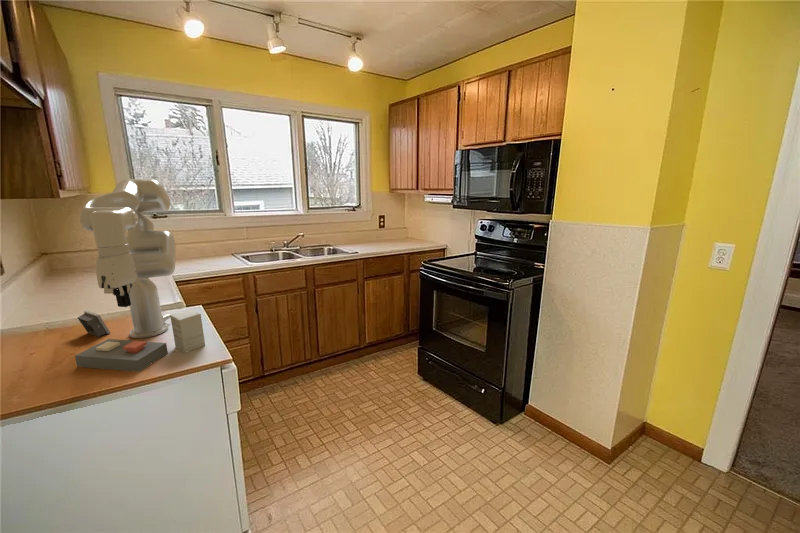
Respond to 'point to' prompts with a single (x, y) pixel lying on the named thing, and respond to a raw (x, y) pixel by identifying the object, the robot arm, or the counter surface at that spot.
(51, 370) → the counter surface
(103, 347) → the ivory plug
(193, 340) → the supplement box
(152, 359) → the plug panel
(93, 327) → the electrical switch
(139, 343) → the red plug
